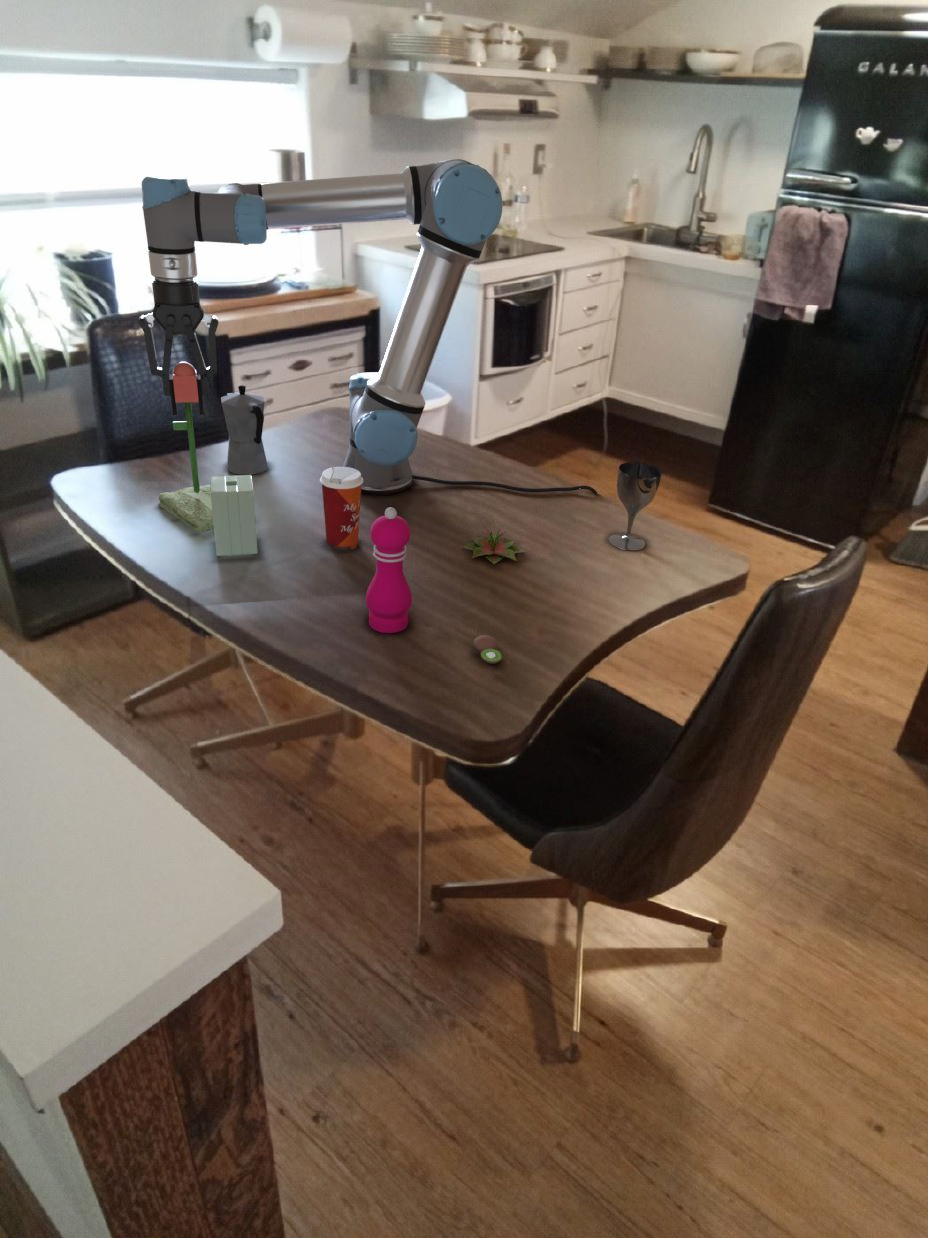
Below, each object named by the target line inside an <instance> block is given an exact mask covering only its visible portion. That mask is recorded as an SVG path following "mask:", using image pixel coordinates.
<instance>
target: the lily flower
mask: <svg viewBox="0 0 928 1238" xmlns="http://www.w3.org/2000/svg"><path fill="white" fill-rule="evenodd" d="M501 530H502V527H500V528H499V529H498V531H497V534H495V533H493V532H492V529H491V527H489V526H488V529H486V531H485V533H486V535H487V536H485V535H484V534H482V535H481V536H478V537H471V540H472V541H473V542H469V543H465V544H464V545H459V547H460V548H464V549H467V550H471V551H472V557H471V558H472V559H474V558H478V557H482V556H484V558H486V559H487V560H488V561H489V562H491V563H492V565H496V564H497V563H498V562H500V561H501V560H502V559H503V558H504V557H505V558H508V559H511V560H513V561H515V562H517V558H516V555H515V554H517V553H518V554H519V553H524V552H527V550H526V549H523V548H522V547H519V546H517V545H513V544H514V540H512V539H508V538H506V537H504V536H505V533H508V530H505V531H503V532H502V533H500V531H501ZM499 533H500V534H499ZM501 536H502V537H501Z"/></svg>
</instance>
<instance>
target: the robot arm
mask: <svg viewBox="0 0 928 1238" xmlns="http://www.w3.org/2000/svg"><path fill="white" fill-rule="evenodd" d="M141 195H142V197H141V198H142V212H143V219H144V220H143V221H144V227H145V234H146V242H147V252H148V261H149V269H150V275H151V276H152V277H154V278H153V279H152V280H151V286H152V287H151V288H152V296H153V304H154V306H153V308H152V312H151V313H147V314H145V315H144V314H140V315H139V318H138V324H139V326H140V328H141V329H142V331H143V335H144V340H145V347H146V352H147V359H148V365H149V370H150V374H151V375H152V376H157V377H160V378H161V380H162V389H163V395H164V396H165V397H170V401H171V410H172V416H178V403H176V402H175V393H174V384H173V374H170V369H171V359H172V349H173V341H174V340H173V339H174V336H179V335H181V336H187V338H188V341H189V344H190V347H191V350H192V354H193V357H194V360H195V361H194V362H195V363H196V367H197V370H198V374H197V388H198V399H199V402H198V409H199V415H200V416H202V415H205V405H204V396H209V393H210V391H209V389H210V388H209V377H211V376H216V375H217V374H218V361H217V359H218V358H217V342H216V341H217V339H216V338H217V337H216V335H217V334H216V333H217V330H218V326H219V317H218V316H217V315H210V314H207V313H205V312H204V309H203V308H202V306H201V299H200V289H199V288H200V287H199V281H198V280H197V279H196V277H197V276H198V265H197V255H196V247H195V242H199V243H205V242H207V243H223V244H238V245H239V244H240V245H244V246H248V245H261V244H264V243H265V242H266V241H267V236H268V235H267V233H268V230H276V229H277V230H278V229H291V228H305V227H319V226H320V227H321V226H333V225H346V224H360V223H373V222H387V221H388V222H389V221H399V220H401V221H403V220H405V221H407V222H408V223H409V224H410V225H411V226H414V225H419V226H418V229H417V232H416V236H417V238H418V240H419V243H420V247H421V248H420V251H419V254H418V256H417V260H416V263H415V266H414V268H413V271H412V275H411V278H410V281H409V283H408V286H407V289H406V292H405V295H404V298H403V301H402V304H401V307H400V310H399V313H398V316H397V319H396V321H395V324H394V328H393V331H392V334H391V337H390V340H389V343H388V344H387V345H388V346H387V348H386V352H385V354H384V358H383V360H382V363H381V367H380V369H379V371H378V372H377V371H376V372H375V371H373V372H372V371H371V372H361V373H360V372H359V373H355V374H353V375H351V376H350V378H349V385H348V390H347V391H348V392H349V395H348V396H349V397H348V398H349V447H348V450H347V453H346V456H345V459H344V462H343V465H342V467H350V468H354V469H356V470H358V471H359V472H360V473H361V477H362V478H363V483H362V484H361V494H366V495H393V494H397V493H400V492H403V491H406V490H407V489H409V488H410V487H411V486H412V484H413V480H418V481H425V482H430V483H431V482H432V483H436V484H441V485H449V486H451V485H452V486H488V487H494V488H495V487H496V488H501V489H506V490H511V491H515V492H516V491H517V492H526V493H549V492H550V493H551V492H552V493H553V492H573V491H579V490H587V491H590V492H591V493H592V494H595V495H597V494H598V491H597V490H596V489H595V488H593V487H592V486H589V485H584V484H583V485H575V486H565V487H564V486H562V487H561V486H560V487H542V488H541V487H540V488H539V487H538V488H535V487H534V488H533V487H532V488H531V487H522V486H521V487H520V486H515V485H514V486H513V485H508V484H504V483H499V482H493V481H485V480H483V481H482V480H445V479H438V478H434V477H428V476H423V475H422V476H420V475H415V474H413V471H412V467H411V464H410V460H409V458H410V457H411V456H412V455H413V453H414V451H415V449H416V447H417V443H418V437H419V436H418V429H417V428H418V425H419V423H420V421H421V418H422V415H423V411H424V409H425V407H426V401H425V399H424V395H423V392H422V391H423V389H424V386H425V383H426V381H427V377H428V375H429V372H430V369H431V366H432V364H433V361H434V359H435V356H436V353H437V351H438V349H439V348H438V347H439V344H440V342H441V339H442V337H443V334H444V331H445V328H446V325H447V322H448V320H449V318H450V315H451V311H452V309H453V306H454V303H455V300H456V298H457V295H458V292H459V290H460V288H461V284H462V282H463V279H464V276H465V273H466V270H467V268H468V267H469V266H470V265H471V264H474V263H476V262H478V261H479V260H480V258H481V255H482V252H483V250H484V247H485V245H486V241H487V239H489V238H490V237H491V235H492V234H493V233H494V232H495V231H496V229H497V228H498V226H499V225H500V222H501V218H502V216H503V215H502V214H503V208H504V207H503V196H502V192H501V189H500V186H499V185H498V183H497V181H496V179H495V178H494V176H493V175H492V174H490V172H489V171H488V170H487V169H485V168H483V167H482V166H480V165H479V164H475V163H472V162H470V161H467V160H465V159H461V158H452V159H446V160H441V161H436V162H431V163H427V164H420V165H409V166H406V167H404V169H403V170H402V171H401V172H400V173H399V172H398V173H386V174H372V175H371V174H370V175H359V176H358V175H357V176H356V175H355V176H346V177H345V176H344V177H343V176H342V177H331V178H317V179H303V180H287V181H274V182H262V183H248V184H242V183H238V182H232V183H227V184H225V185H223V186H221V187H220V188H218V190H217V191H216V192H203V191H202V192H201V191H196V190H192V188H191V187H190V182H189V180H188V179H187V178H186V177H184V176H179V175H177V176H176V175H168V174H155V175H154V174H152V175H147V176H145V177H143V179H142V180H141ZM154 321H156V322H157V323H158V324H159V325H160V327H161V328H162V329H163V330H164V332H165V338H164V349H163V357H162V358H163V359H162V367H160V366H159V365H158V358H157V352H156V346H155V339H154V333H153V327H154V325H155V323H154ZM202 321H203V322H204V326H205V328H206V329H207V334H208V353H209V355H208V357H209V366H207V367H206V363H205V360H204V357H203V355H202V350H201V347H200V343H199V339H198V337H197V333H196V330H197V329H198V327H199V325H200V324H201V322H202ZM579 488H581V489H579Z"/></svg>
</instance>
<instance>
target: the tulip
mask: <svg viewBox="0 0 928 1238" xmlns="http://www.w3.org/2000/svg"><path fill="white" fill-rule="evenodd" d="M197 373H198V372H197V369H195V367H194V365H192V363H189V362H187V361H180V362H178V363H177V364H176V365H174V368H173V369H172V375H173V384H174V393H175V402H176V403H177V404H178V403H181V404H182V403H184V411H185V419H186V420H184V421H183V420H182V421H181V420H180V421H172V429H173V430H172V431H187V438H188V439H187V440H188V449H189V457H190V467H191V477H192V487H194V492H195V493H199V492H200V488H199V487H200V478H199V469H198V468H199V467H198V461H197V449H196V441H195V440H196V439H195V431H194V430H195V429H194V421H193V411H192V403H199V399H198V388H197V375H198V374H197Z"/></svg>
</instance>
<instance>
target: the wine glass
mask: <svg viewBox="0 0 928 1238" xmlns="http://www.w3.org/2000/svg"><path fill="white" fill-rule="evenodd" d="M661 479H662V470H661V469H660V468H659V467H657V466H655V465H653V464H650V463H647V462H639V461H627V462H623V463H621V464H620V465H619V466H618V470H617V476H616V492H617V497H618V499H619V501H620V502H621V505H623V507H624V509H625V510H626V513H627V527H626V533H616V534H615V533H614V534H612V535H611V536H610V537H608V542H609V544H610V545H611V546H613V547H615V548H617V549H620V550H624V551H640V550H643V549H644V548H645V547H646V542H645V541H644V539H642V538H640V537H638V536H637V535H633V534H631V533H632V527H633V525H634V521H635V518H636V517H637V515H638V514H639V513H640V512H641V511H642V510H643V509H644V508H647V506H648V505H650V504H651V503H652V502H653V501H654V499H655V497H656V494H657V491H658V489H659V487H660V483H661Z"/></svg>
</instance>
